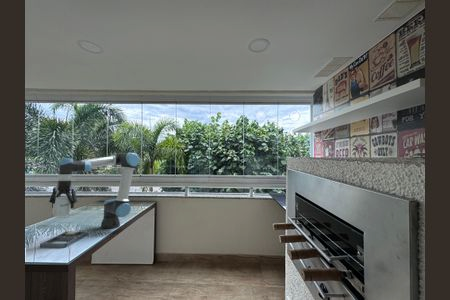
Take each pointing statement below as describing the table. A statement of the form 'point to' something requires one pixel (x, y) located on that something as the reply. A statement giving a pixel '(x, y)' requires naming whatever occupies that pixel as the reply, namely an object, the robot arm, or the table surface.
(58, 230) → the table surface
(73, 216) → the table surface
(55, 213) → the supplement box
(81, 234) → the grey flat rectangular frame
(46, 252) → the table surface
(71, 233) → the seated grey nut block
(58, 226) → the table surface
